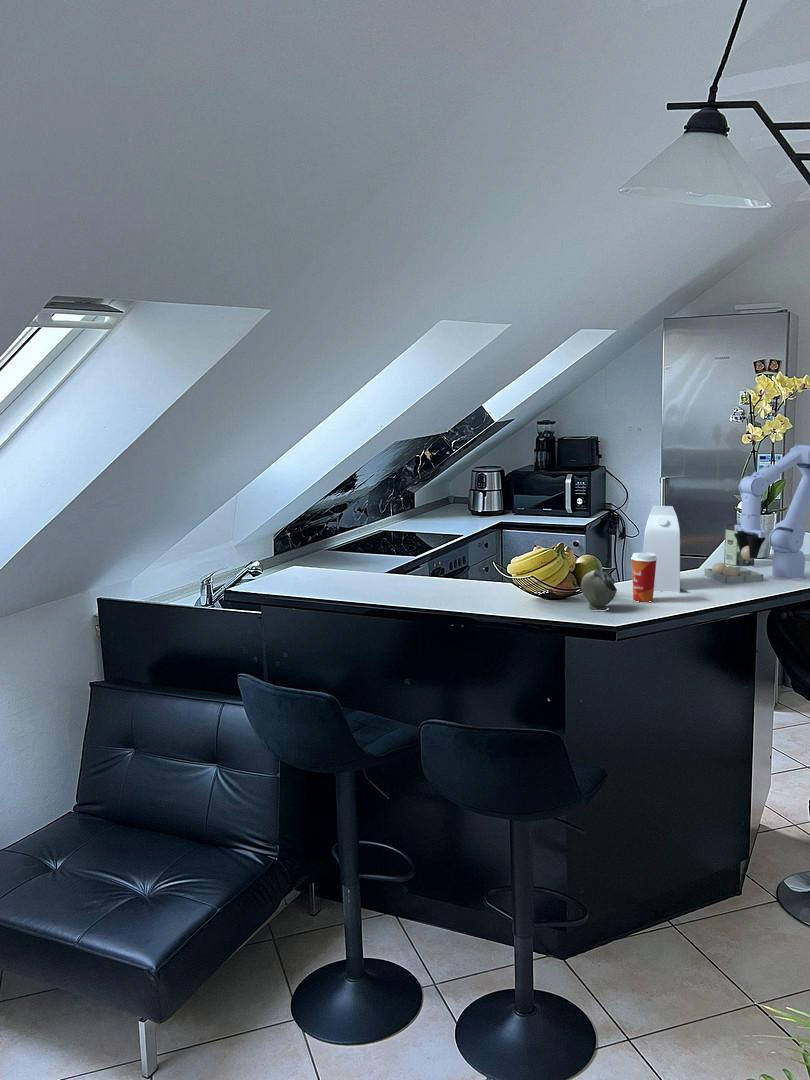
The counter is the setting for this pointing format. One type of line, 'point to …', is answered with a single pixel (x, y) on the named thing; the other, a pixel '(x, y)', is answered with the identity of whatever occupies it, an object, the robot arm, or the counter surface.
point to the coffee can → (733, 548)
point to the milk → (664, 547)
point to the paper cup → (643, 576)
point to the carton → (742, 577)
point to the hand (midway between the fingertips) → (748, 556)
